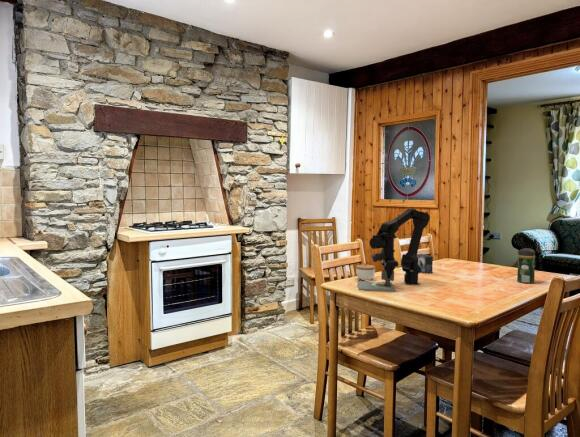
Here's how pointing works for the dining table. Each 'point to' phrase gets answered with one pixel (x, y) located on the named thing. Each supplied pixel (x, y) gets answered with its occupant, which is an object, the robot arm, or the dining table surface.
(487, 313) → the dining table surface
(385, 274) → the peg knob
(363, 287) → the tuner board
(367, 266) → the lidded jar
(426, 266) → the small box
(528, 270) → the coffee jar
